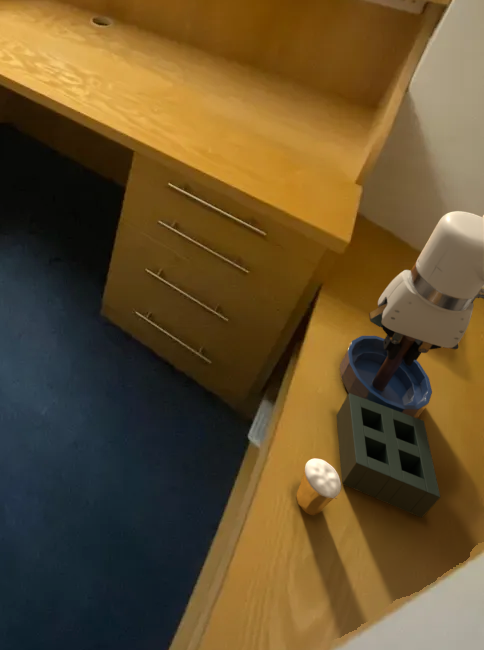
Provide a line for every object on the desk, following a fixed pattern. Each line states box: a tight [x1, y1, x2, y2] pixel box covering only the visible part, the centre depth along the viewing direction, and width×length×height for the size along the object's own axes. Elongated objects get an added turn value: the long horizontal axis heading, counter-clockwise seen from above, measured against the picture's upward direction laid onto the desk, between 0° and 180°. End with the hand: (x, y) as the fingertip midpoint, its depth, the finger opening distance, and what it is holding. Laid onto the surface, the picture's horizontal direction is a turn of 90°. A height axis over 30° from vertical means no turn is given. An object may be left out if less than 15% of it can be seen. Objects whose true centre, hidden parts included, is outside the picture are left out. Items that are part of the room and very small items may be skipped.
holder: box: [336, 393, 441, 518], centre depth 78 cm, size 10×10×7 cm
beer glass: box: [295, 457, 342, 516], centre depth 73 cm, size 5×5×10 cm
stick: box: [372, 335, 416, 391], centre depth 86 cm, size 2×2×15 cm
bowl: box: [339, 335, 433, 419], centre depth 88 cm, size 12×12×6 cm
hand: (397, 353), depth 85 cm, fingers closed on stick
